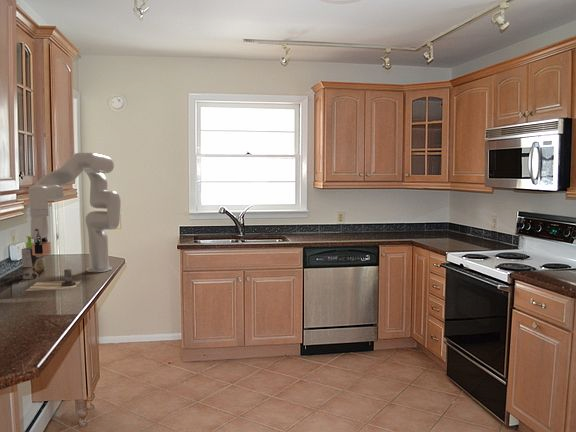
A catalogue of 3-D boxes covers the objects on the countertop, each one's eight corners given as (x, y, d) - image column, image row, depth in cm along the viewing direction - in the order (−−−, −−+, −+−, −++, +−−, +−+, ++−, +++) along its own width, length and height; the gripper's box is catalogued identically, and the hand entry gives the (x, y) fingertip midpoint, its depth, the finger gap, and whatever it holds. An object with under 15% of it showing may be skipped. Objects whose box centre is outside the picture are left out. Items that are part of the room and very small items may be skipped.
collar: (36, 252, 242) (35, 242, 241) (52, 252, 243) (51, 241, 242) (31, 255, 235) (30, 244, 235) (47, 255, 236) (46, 244, 236)
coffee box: (34, 282, 254) (32, 249, 252) (22, 281, 255) (20, 248, 253) (46, 278, 263) (44, 246, 261) (35, 277, 264) (33, 245, 262)
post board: (37, 285, 248) (36, 267, 247) (81, 283, 251) (81, 266, 250) (25, 293, 232) (24, 274, 231) (73, 292, 235) (72, 273, 234)
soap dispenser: (30, 276, 266) (28, 237, 264) (22, 275, 269) (20, 236, 267) (41, 274, 271) (39, 235, 268) (33, 272, 274) (31, 234, 272)
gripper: (36, 211, 245) (39, 248, 247) (23, 215, 228) (26, 255, 230) (53, 210, 246) (55, 248, 248) (41, 215, 229) (44, 255, 231)
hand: (41, 251), depth 239 cm, fingers closed on collar, 7 cm apart
